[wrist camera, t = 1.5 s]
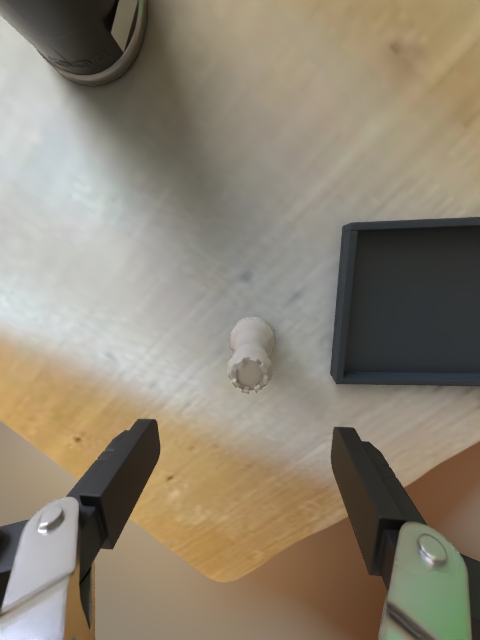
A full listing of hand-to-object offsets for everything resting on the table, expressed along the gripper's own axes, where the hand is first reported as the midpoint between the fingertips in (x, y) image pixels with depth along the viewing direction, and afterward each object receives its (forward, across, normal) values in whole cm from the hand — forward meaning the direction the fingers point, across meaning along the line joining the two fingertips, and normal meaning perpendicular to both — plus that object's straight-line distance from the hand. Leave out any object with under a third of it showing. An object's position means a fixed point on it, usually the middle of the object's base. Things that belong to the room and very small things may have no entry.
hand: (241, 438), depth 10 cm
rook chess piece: (+13, 0, 0) cm, 13 cm away
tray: (+13, -18, -4) cm, 23 cm away
